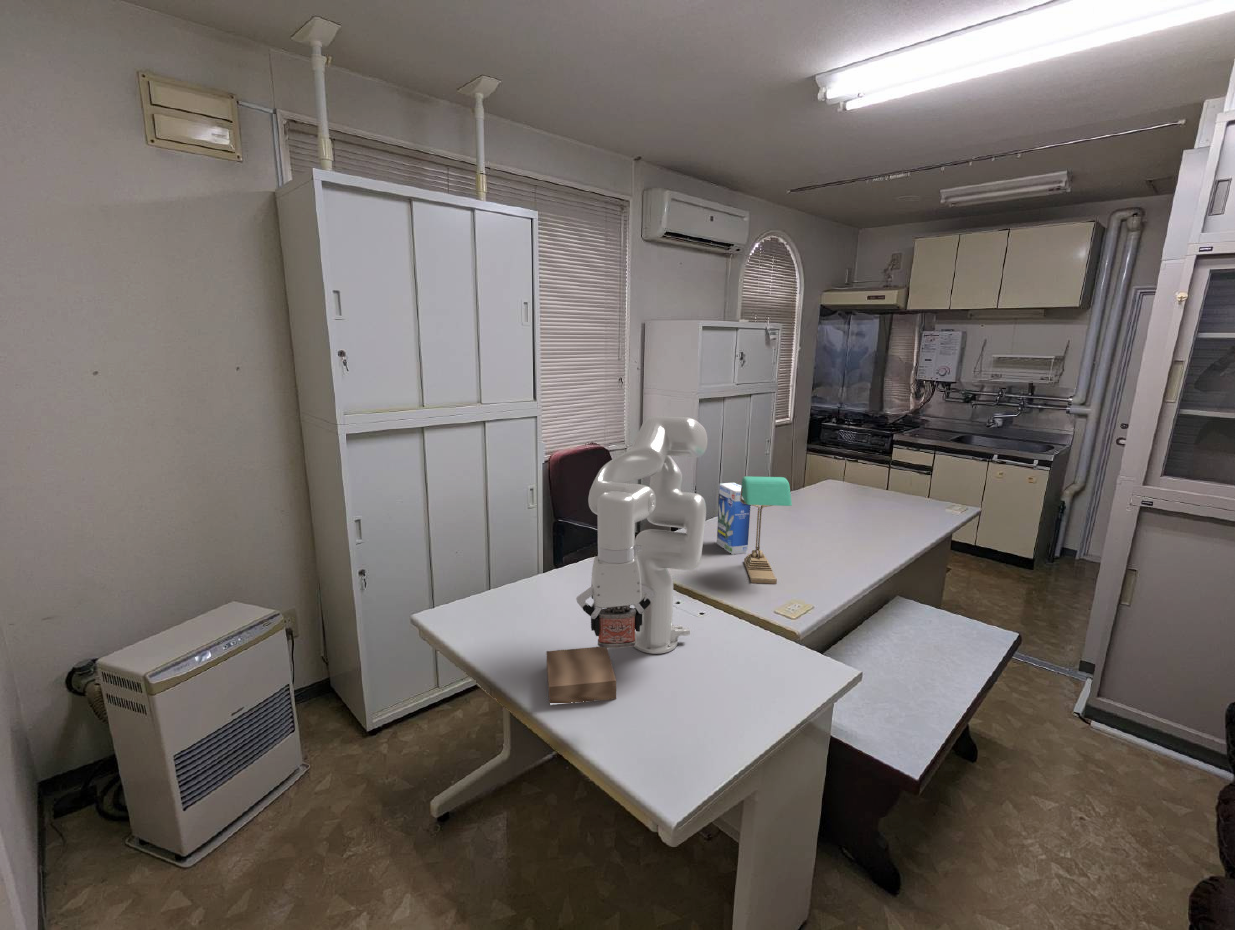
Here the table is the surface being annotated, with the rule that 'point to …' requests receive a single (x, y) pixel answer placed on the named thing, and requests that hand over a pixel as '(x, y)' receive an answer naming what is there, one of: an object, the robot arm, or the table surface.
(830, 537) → the table surface
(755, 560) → the banker's lamp
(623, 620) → the lighter
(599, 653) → the walnut block
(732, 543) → the string lights box
